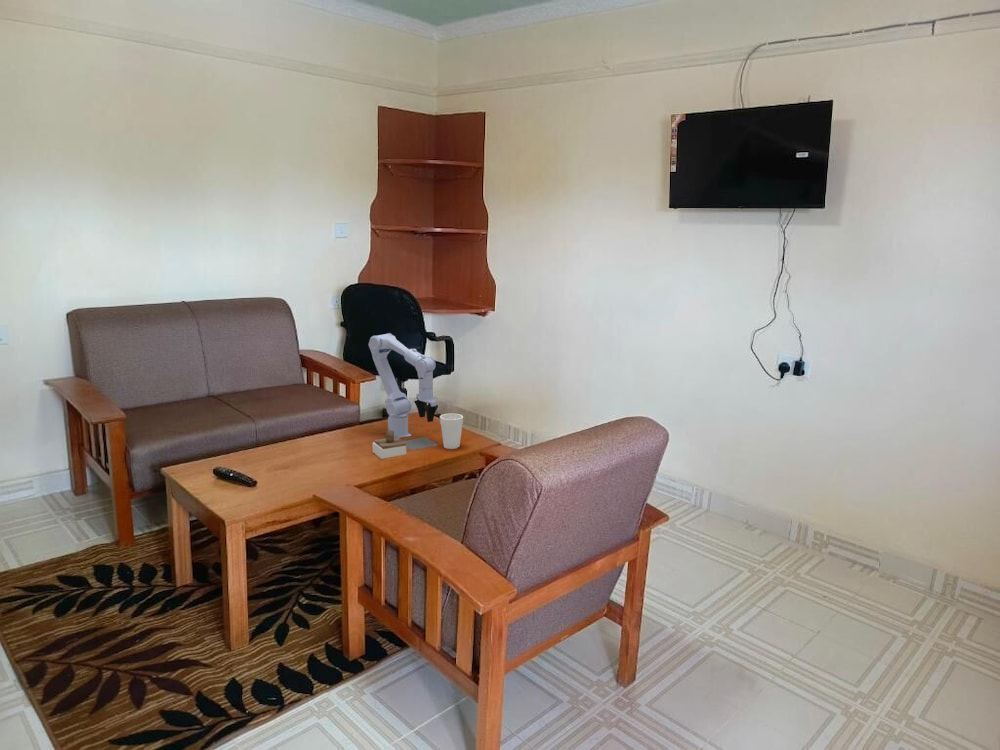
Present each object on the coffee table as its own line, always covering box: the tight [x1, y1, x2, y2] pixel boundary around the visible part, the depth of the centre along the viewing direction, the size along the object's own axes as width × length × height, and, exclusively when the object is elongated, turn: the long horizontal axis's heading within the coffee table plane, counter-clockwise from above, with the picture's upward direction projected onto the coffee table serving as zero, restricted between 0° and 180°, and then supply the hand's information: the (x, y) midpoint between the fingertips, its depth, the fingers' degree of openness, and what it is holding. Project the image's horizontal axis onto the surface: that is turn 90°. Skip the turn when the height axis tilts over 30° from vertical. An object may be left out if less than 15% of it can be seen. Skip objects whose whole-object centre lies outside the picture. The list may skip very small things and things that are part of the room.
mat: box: [403, 437, 438, 451], centre depth 290 cm, size 12×12×1 cm
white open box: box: [372, 441, 407, 460], centre depth 277 cm, size 10×10×4 cm
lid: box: [374, 430, 406, 449], centre depth 277 cm, size 10×10×5 cm
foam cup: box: [439, 413, 464, 450], centre depth 285 cm, size 10×9×13 cm
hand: (426, 419), depth 290 cm, fingers open, 7 cm apart
